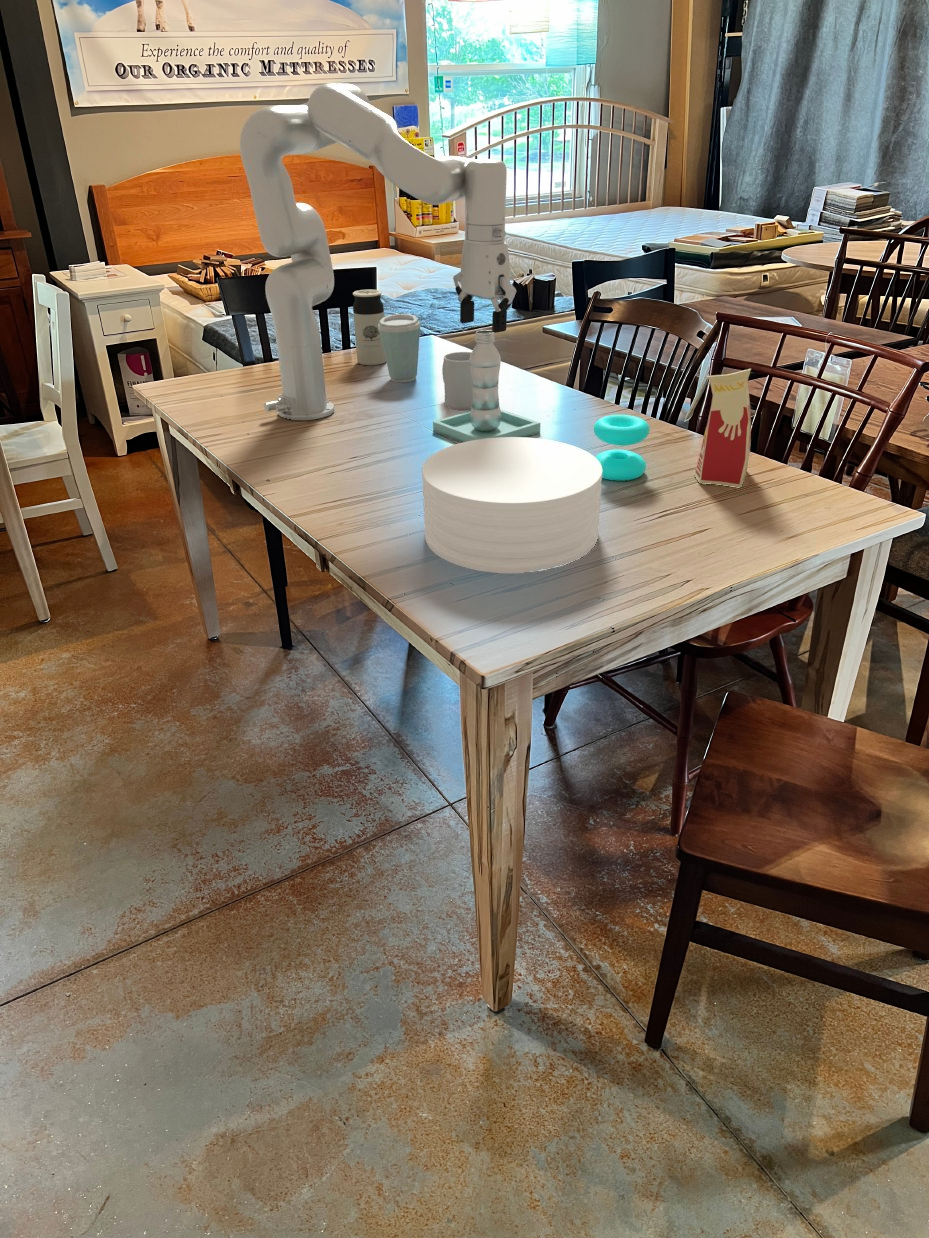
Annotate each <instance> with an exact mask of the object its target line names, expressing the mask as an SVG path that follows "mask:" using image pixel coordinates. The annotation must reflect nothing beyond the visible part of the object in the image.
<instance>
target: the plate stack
mask: <svg viewBox="0 0 929 1238" xmlns="http://www.w3.org/2000/svg"><path fill="white" fill-rule="evenodd" d="M595 457H596V456H595V455H593V454H592V453H590V452H588V451H587V450H585V449H582V448H580V447H578V446H575V445H572V444H569V443H565V442H562V441H558V440H557V441H556V440H551V439H544V438H537V437H498V438H486V439H478V440H472V441H467V442H463V443H461V442H458V443H456V444H453V445H449V446H447V447H445V448H444V447H443V449H440V450H437V451H436V452H435V453H433V454H432V455H430V456H429V457H428V458H427V459H425V461H424V462H423V465H422V467H421V478H422V496H423V499H422V500H423V502H422V504H423V512H424V513H423V523H424V524H423V525H424V540H425V542H426V543H425V544H426V545H427V546H428V548H429V549H430V551H432V552H433V553H434V554H435V555H436V556H438V557H439V558H441V559H442V560H445V561H446V562H448V563H451V564H453V565H456V566H459V567H462V568H466V569H469V570H475V571H479V572H485V573H486V572H487V573H495V574H496V573H497V574H525V573H524V572H530V571H538V570H541V569H548V568H553V567H555V566H560V565H564V564H566V563H569V562H571V561H574V560H576V559H578V558H580V557H582V556H584V555H585V554H586V553H588V552H589V551H590V550H591V549H592V548H593V547H594V546H595V547H596V545H597V543H598V541H597V539H598V540H599V526H600V525H599V524H600V510H601V495H602V480H603V478H602V471H603V470H602V466H601V463H600V462H599V461H598V460H597V458H595ZM596 542H597V543H596ZM595 544H596V545H595ZM595 547H594V548H595ZM594 548H593V549H594ZM593 549H592V550H593ZM589 553H590V552H589ZM589 553H588V554H589ZM584 557H585V556H584Z"/></svg>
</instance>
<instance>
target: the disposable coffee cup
mask: <svg viewBox="0 0 929 1238" xmlns="http://www.w3.org/2000/svg"><path fill="white" fill-rule="evenodd" d="M421 328H422V326H421V322H420V321H419V319H418V317H417V315H413V314H410V313H397V314H389V315H386V316H384V317H383V318H382V319H381V320H380V321H379V324H378V328H377V329H378V330H379V332H380V336H381V341H382V345H383V349H384V354H385V358H386V362H385V363H386V366H387V369H388V375H389V378H390V379H391V382H395V383H411V382H412V381H415V380H416V379H417V376H418V366H419V365H418V364H419V363H418V362H419V351H420V348H419V347H420V335H421V334H420V333H421Z"/></svg>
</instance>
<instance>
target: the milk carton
mask: <svg viewBox="0 0 929 1238" xmlns="http://www.w3.org/2000/svg"><path fill="white" fill-rule="evenodd" d="M751 371H752V368H748V369H744V370H740V371H737V372H732V373H728V374H715V375H707V376H706V378H707V379H708V380H709V383H710V388H711V393H712V399H711V403H710V404H711V406H710V410H709V414H708V419H707V423H706V427H705V431H704V436H703V437H702V444H701V447H700V451H699V455H698V460H697V463H696V468H695V472H694V475H695V476H694V477H696V479H695V480H696V481H697V480H698V481H697V482H699V483H711V484H721V485H728V486H735V487H742V488H743V485H744V483H745V479H746V476H747V473H748V466H749V465H748V464H749V458H750V453H751V446H752V445H751V441H752V440H751V439H752V438H751V435H752V434H751V432H752V427H751V426H752V419H751V418H752V411H751V402H750V391H749V384H748V380H749V377H750V373H751ZM746 472H747V473H746ZM743 482H744V483H743ZM699 483H698V484H699ZM742 484H743V485H742Z"/></svg>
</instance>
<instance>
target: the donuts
mask: <svg viewBox="0 0 929 1238" xmlns="http://www.w3.org/2000/svg"><path fill="white" fill-rule="evenodd" d="M593 431H594V432H593V433H594V436H596V437H597V439H599V440H600V441H602V442H604V443H606V444H609V445H613V446H632V445H636V444H639V443H640V442H642V441H644V440H645V439H646V438H647V437H648V436H649V433H650V425H649V424H648V422H647V421H646V420H644V418H641V417H639V416H635V415H630V414H629V415H628V414H611V415H610V414H609V415H605V416H602V417H600V418H599V419H597V421H596V422H595V423H594V426H593ZM594 457H595V458H597V460H598V461H599V462H600V463H601V466H602V470H603V471H602V479H605V480H609V481H614V480H615V481H616V482H617V481H618V482H619V481H620V482H621V481H623V482H624V481H626V480H627V481H631V480H635V479H639V478H640V477H641V476H642V475H644V473H645V471H646V467H647V463H646V461H645V459H644V458H643V457H642V456H641V455H640V454H638V453H636V452H634V451H632V450H627V449H609V450H604V451H602V452H599V453H598V454H596V455H595V456H594Z"/></svg>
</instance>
